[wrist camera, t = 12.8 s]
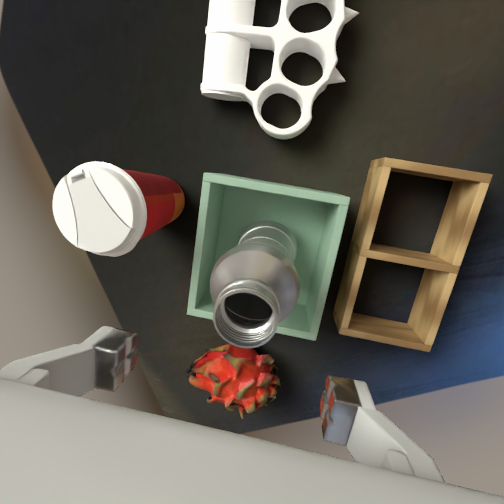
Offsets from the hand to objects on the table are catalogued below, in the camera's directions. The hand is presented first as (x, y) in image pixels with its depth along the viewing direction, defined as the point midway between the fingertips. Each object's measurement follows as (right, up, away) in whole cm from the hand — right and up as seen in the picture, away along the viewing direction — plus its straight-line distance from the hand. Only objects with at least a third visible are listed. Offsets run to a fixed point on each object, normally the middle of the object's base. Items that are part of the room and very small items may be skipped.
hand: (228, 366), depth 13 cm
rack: (+17, +5, +23) cm, 29 cm away
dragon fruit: (-1, -10, +29) cm, 30 cm away
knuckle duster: (+4, +26, +19) cm, 33 cm away
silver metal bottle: (+3, +6, +24) cm, 25 cm away
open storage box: (+3, +6, +24) cm, 25 cm away
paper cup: (-10, +11, +25) cm, 29 cm away
